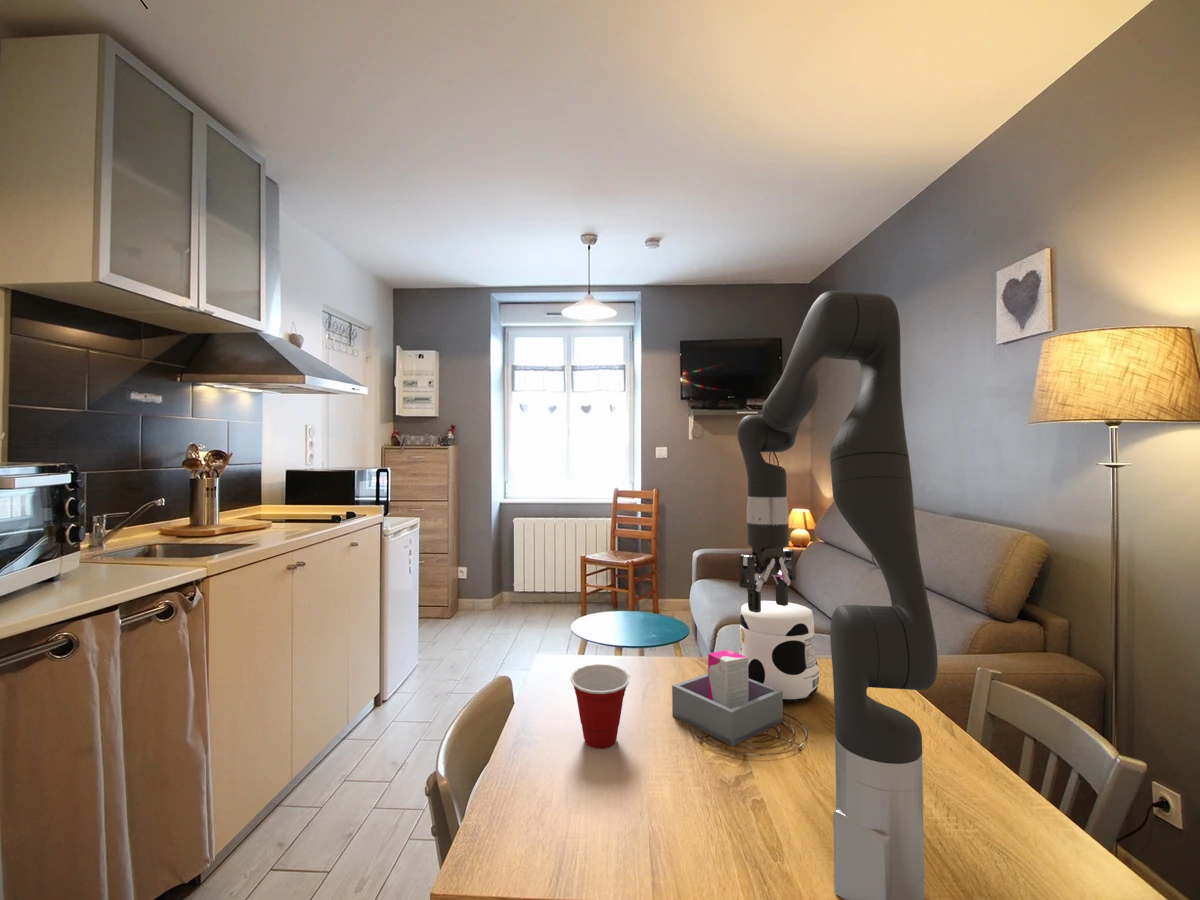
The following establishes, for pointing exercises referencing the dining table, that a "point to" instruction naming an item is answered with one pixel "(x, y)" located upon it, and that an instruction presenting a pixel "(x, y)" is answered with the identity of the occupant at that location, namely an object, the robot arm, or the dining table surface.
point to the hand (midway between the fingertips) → (768, 608)
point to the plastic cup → (600, 702)
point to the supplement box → (728, 678)
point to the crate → (727, 710)
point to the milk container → (781, 648)
